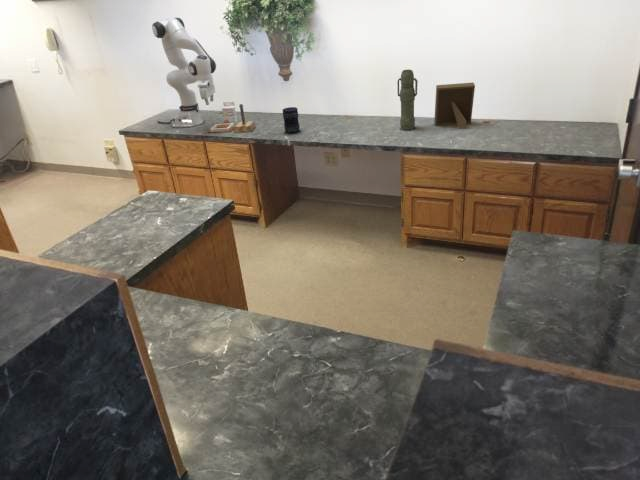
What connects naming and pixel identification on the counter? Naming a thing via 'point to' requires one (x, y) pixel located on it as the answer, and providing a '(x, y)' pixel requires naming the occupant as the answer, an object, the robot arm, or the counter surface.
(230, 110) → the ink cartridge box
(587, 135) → the counter surface
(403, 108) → the thermos
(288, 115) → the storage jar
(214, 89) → the robot arm
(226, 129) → the loop
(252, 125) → the stand
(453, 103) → the photo frame
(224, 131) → the mat
